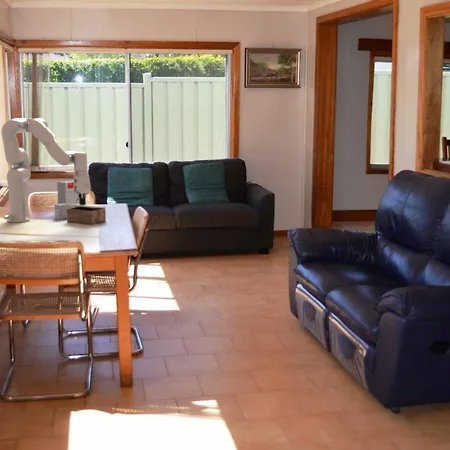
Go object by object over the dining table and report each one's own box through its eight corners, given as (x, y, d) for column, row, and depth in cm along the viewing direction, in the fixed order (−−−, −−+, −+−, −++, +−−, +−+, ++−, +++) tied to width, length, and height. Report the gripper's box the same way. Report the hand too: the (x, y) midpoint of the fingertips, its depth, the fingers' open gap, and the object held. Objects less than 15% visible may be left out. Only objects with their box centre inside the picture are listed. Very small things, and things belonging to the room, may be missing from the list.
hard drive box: (65, 214, 448) (64, 182, 444) (57, 213, 452) (56, 181, 449) (84, 211, 460) (83, 180, 456) (76, 210, 465) (75, 179, 461)
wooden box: (91, 225, 413) (90, 211, 412) (67, 221, 422) (66, 208, 421) (105, 221, 424) (105, 208, 423) (82, 218, 433) (81, 205, 432)
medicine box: (65, 217, 438) (64, 203, 437) (69, 218, 435) (69, 204, 434) (54, 218, 432) (54, 204, 431) (59, 219, 429) (58, 205, 428)
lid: (90, 207, 411) (90, 206, 411) (66, 204, 420) (66, 203, 420) (105, 208, 423) (105, 206, 423) (81, 205, 432) (81, 204, 432)
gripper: (77, 174, 406) (78, 206, 409) (94, 172, 419) (96, 203, 422) (67, 174, 410) (68, 206, 413) (84, 171, 422) (86, 202, 426)
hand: (82, 204), depth 417 cm, fingers closed
